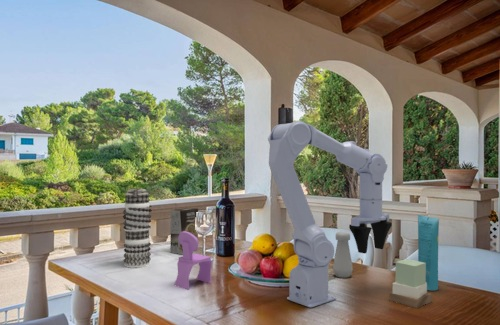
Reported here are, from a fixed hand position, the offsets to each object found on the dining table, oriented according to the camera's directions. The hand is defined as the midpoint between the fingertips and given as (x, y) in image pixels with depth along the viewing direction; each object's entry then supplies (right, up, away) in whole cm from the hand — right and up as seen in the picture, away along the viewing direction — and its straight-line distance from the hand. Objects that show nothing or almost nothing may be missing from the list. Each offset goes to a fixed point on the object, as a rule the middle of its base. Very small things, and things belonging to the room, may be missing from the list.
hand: (370, 250), depth 108 cm
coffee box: (-57, -11, +47) cm, 74 cm away
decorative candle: (-69, -11, +27) cm, 75 cm away
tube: (+16, -11, +1) cm, 19 cm away
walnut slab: (+7, -11, -9) cm, 16 cm away
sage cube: (+7, -6, -9) cm, 13 cm away
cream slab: (+7, -9, -9) cm, 14 cm away
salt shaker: (-4, -11, +13) cm, 18 cm away
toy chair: (-48, -11, +6) cm, 49 cm away
